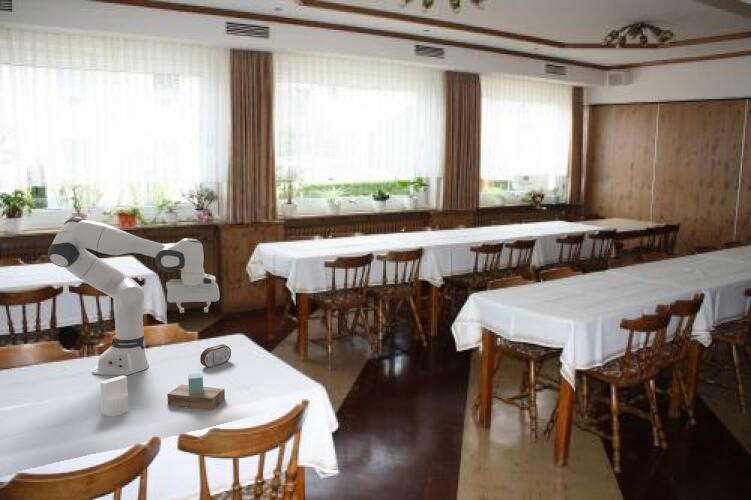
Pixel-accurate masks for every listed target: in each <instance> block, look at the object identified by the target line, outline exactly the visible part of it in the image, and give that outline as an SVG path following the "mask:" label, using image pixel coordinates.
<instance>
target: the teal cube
mask: <svg viewBox="0 0 751 500" xmlns="http://www.w3.org/2000/svg"><path fill="white" fill-rule="evenodd" d="M203 374H204V373H203V372H199V373H198V372H197V373H188V379H187V380H188V381H187V382H188V383H187V384H188V385H189V394H199V393H203V387H204V378H203V377H204V375H203Z"/></svg>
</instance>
